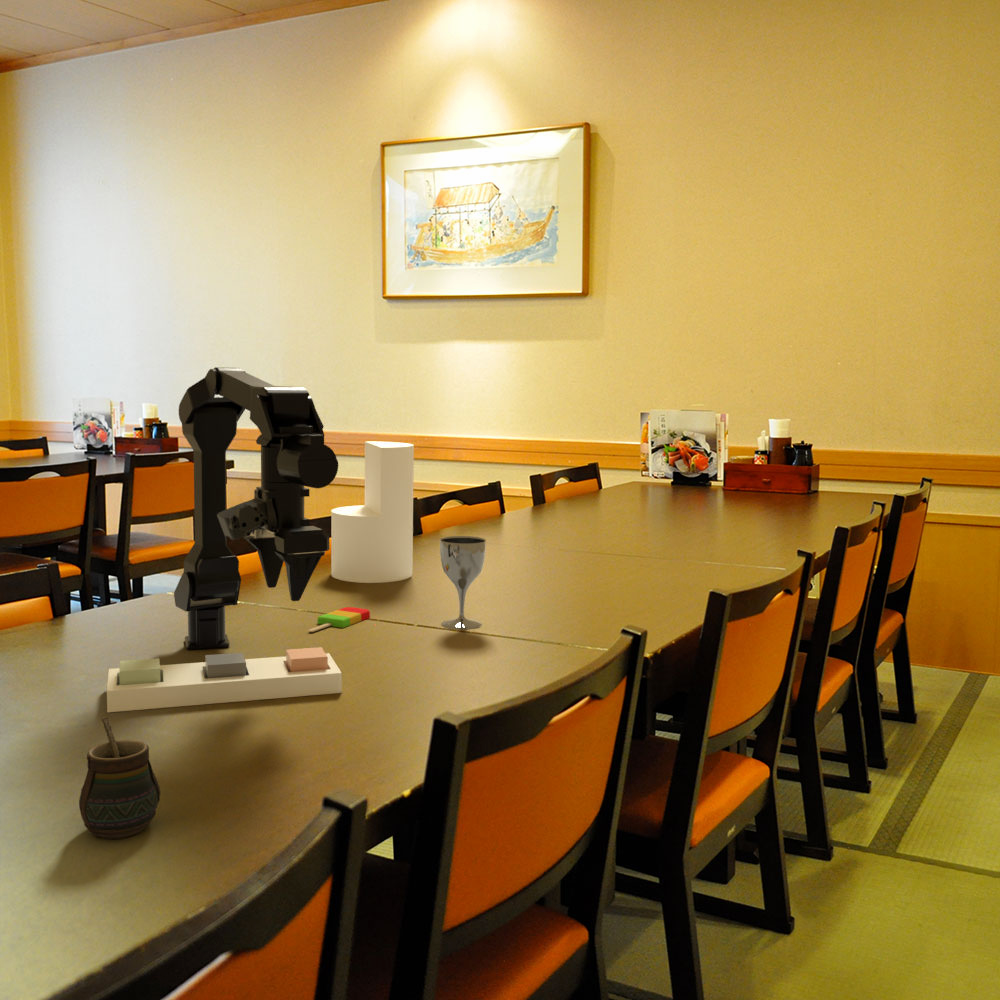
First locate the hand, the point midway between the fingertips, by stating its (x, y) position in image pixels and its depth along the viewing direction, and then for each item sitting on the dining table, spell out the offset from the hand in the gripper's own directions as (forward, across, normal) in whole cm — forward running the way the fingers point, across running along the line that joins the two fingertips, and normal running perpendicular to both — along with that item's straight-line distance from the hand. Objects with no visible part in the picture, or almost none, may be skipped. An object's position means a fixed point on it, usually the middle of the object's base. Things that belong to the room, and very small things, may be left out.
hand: (283, 593), depth 140 cm
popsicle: (+14, -30, +20) cm, 39 cm away
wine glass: (+14, -20, +40) cm, 46 cm away
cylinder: (+14, -66, +44) cm, 80 cm away
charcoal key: (+11, -3, -7) cm, 14 cm away
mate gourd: (+14, +34, -29) cm, 46 cm away
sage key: (+11, -5, -18) cm, 22 cm away
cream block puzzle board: (+13, -3, -7) cm, 15 cm away
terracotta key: (+11, 0, +3) cm, 12 cm away
